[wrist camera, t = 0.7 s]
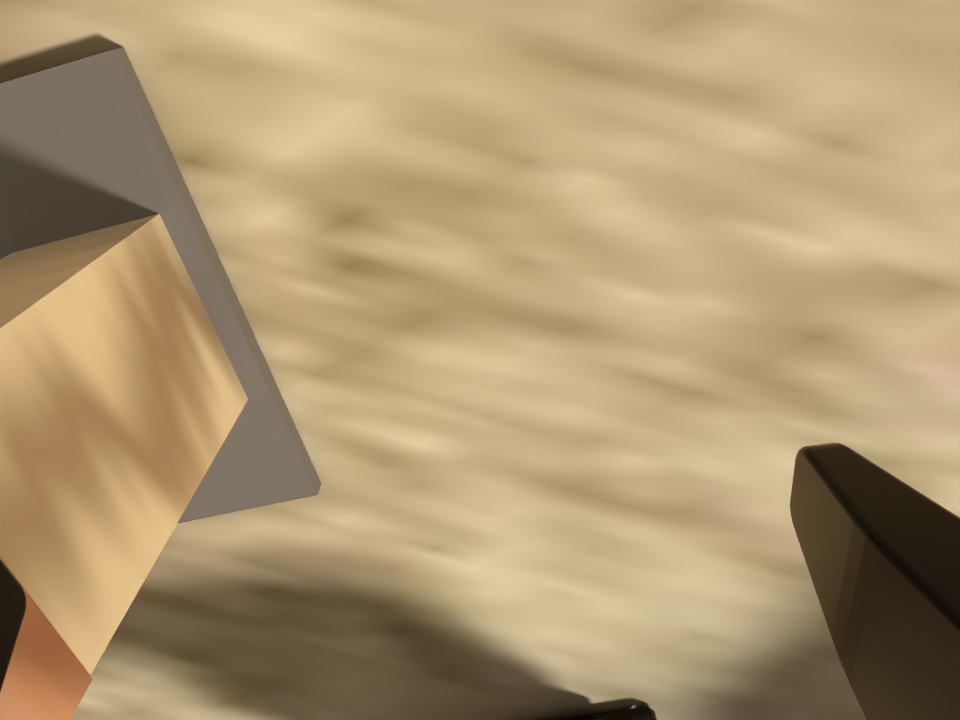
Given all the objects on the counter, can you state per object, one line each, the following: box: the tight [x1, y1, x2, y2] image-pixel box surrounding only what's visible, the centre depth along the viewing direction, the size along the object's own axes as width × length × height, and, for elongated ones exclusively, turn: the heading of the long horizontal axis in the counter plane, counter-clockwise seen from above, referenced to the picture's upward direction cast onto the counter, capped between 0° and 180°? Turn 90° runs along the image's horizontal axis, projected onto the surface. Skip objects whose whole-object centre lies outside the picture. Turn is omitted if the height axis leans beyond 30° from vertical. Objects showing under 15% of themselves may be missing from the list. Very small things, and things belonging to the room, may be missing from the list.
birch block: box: [0, 214, 248, 720], centre depth 16 cm, size 6×5×11 cm
